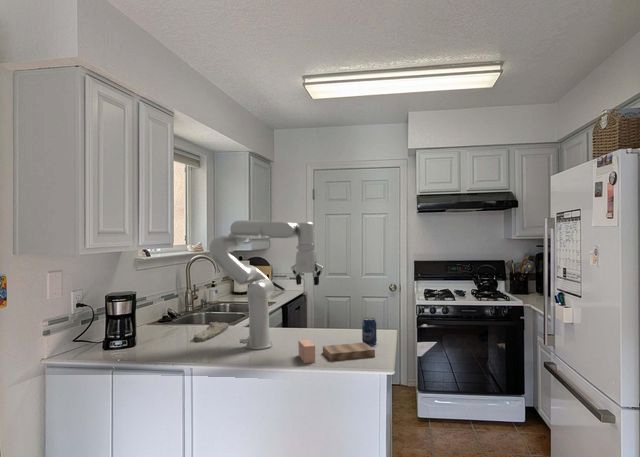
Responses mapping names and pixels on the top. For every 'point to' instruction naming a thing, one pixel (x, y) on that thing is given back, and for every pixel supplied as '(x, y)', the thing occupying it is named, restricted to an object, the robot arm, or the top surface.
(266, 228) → the robot arm
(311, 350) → the terracotta block
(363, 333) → the soda can
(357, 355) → the walnut stand
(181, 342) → the top surface
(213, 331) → the elongated rock
